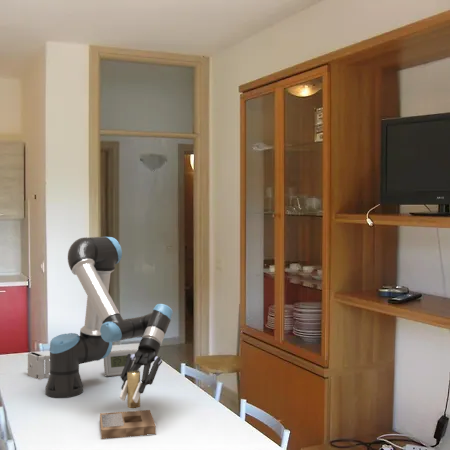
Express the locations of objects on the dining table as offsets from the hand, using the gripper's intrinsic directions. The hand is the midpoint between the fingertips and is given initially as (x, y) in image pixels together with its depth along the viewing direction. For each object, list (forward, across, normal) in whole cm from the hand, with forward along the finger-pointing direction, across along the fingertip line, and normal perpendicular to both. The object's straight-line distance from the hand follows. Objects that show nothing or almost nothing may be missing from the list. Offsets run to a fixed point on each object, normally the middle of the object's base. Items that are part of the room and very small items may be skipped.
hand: (128, 399), depth 204 cm
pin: (0, 0, -5) cm, 5 cm away
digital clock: (-34, +38, -49) cm, 71 cm away
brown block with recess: (+6, +2, -10) cm, 11 cm away
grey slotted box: (-22, +69, -37) cm, 81 cm away
